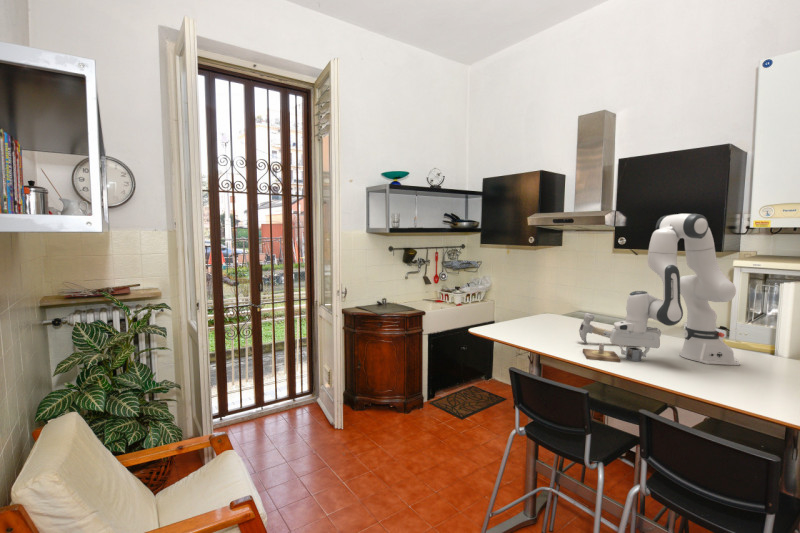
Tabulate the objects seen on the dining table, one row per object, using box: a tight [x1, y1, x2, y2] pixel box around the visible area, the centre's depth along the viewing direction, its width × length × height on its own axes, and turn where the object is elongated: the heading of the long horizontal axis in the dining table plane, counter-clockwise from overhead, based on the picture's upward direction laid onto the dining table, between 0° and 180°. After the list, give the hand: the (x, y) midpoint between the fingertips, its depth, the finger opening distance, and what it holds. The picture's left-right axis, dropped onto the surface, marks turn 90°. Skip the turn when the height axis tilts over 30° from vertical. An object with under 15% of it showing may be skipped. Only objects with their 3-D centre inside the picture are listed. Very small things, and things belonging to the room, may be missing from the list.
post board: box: [582, 342, 622, 363], centre depth 191 cm, size 14×12×6 cm
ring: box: [624, 346, 643, 362], centre depth 189 cm, size 6×6×5 cm
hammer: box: [578, 312, 612, 346], centre depth 212 cm, size 16×5×30 cm
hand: (633, 355), depth 189 cm, fingers open, 7 cm apart
